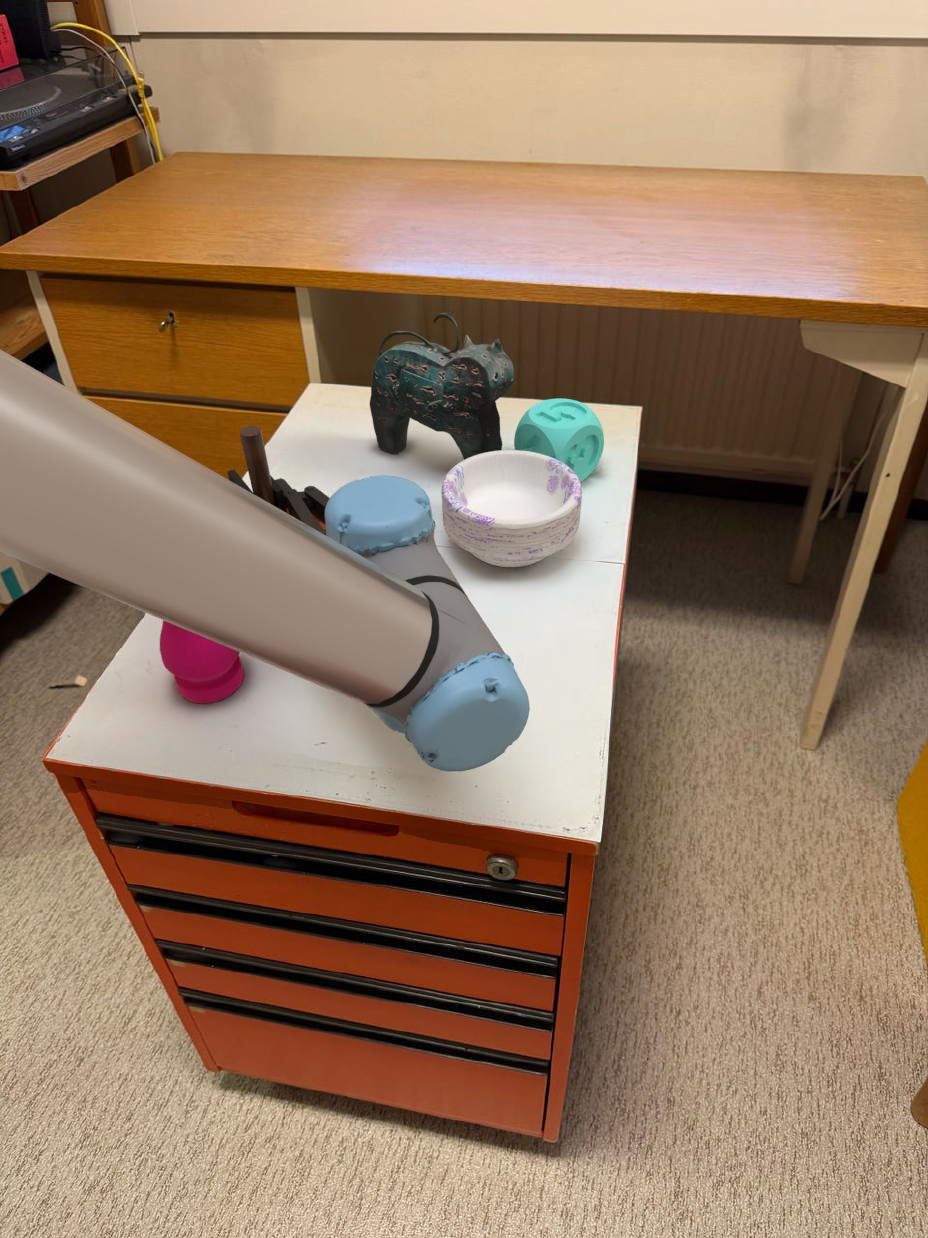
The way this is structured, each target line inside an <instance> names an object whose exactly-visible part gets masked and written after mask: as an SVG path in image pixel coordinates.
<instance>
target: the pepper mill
mask: <svg viewBox="0 0 928 1238" xmlns="http://www.w3.org/2000/svg"><path fill="white" fill-rule="evenodd" d="M240 653H241V652H239V651H236V650H234V649H231V648H229V647H227V646H224V645H222V644H219V643H217V642H215V641H212V640H210V639H207V638H205V637H203V636H200V635H198V634H195V633H193V632H191V631H188V630H186V629H183V628H181V627H179V626H176V625H174V624H171V623H169V622H167V621H164V620H162V624H161V630H160V634H159V654H160V658H161V661H162V664H163V666H164V667H165V669H166V670H167V671H168V672H169V673H170V674H171V675H173V677H174V681H175V684H176V687H177V689H178V692H179V693H180V695H181V696H182V697H183V698H184V699H186V700H187V701H190V702H193V703H198V704H209V703H210V704H211V703H215V702H218V701H221V700H223V699H226V698H228V697H229V696H231V695H232V694H234V693H235V692H236V691H237V690H238V689H239V688H240V686H241V685H242V683H243V680H244V677H245V672H244V667H243V665H242V661H241V657H240Z"/></svg>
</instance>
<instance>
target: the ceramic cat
mask: <svg viewBox="0 0 928 1238" xmlns="http://www.w3.org/2000/svg"><path fill="white" fill-rule="evenodd" d="M440 318H445V319H447V320H449V321H450V322H451V323H452V324H453V326H454V327H455V330H456V344H455V349H452V350H450V349H448V348H447V347H445V346H444V345H441V344H439V343H435V342H430V341H429V340H427V339H426V338H425V337H424V336H422V335H420V334H418V333H416V332H414V331H407V330H396V331H392V332H390V333H389V334H387V335H386V336H385V337H384V338H383V340H382V342H381V344H380V347H379V352H378V356H379V357H378V358H377V359H376V362H375V363H374V365H373V368H372V373H371V379H370V398H369V409H370V415H371V418H372V425H373V430H374V434H375V437H376V443H377V446H378V448H379V449H380V450H382V451H383V452H386V453H389V454H391V455H398V454H399V453H400V452H402V451H404V450H405V449H406V448H407V441H408V430H409V425H410V421H411V420H413V421H415V422H417V423H419V424H421V425H422V426H425V427H427V428H429V429H430V430H433V431H434V432H439V433H440V432H444V433H447V434H448V435H450V437H451V438H452V440H453V441H454V443H455V445H456V446H457V448H458V449H459V451H460V454H461V455H462V461H463V460H465V459H467V458H470V457H472V456H475V455H478V454H482V453H486V452H491V451H500V450H503V439H502V436H501V417H500V412H499V410H498V407H497V402H496V401H498V400H499V399H500V398H501V397H502V396H504V395H505V394H507V393H508V392H509V391H510V390H511V389H512V387H513V384H514V381H515V369H514V368H515V367H514V364H513V362H512V360H511V358H510V357H509V356H508V354H506V352H505V351H504V349H503V345H502V344H503V343H502V341H501V340H500V338H497V339H495V340H494V341H493V342H492V343H491V344H488V343H480V344H474V343H473V341H472V340H471V337H470V336H469V335H468V334H466V335H465V337H464V339H463V343H462V344H463V345H462V347H461V349H460V332H459V331H460V330H459V326H458V324H457V323H458V322H457V321H456V320H455V319H454V317H453V316H452V315H450V314H449V313H448V312H442V313H439V314H438V315H436V316H435V317H434V319H433V323H434V324H436V322H437V321H438V320H439V319H440ZM395 336H413V337H415V338H417V339H419V340H421V341H420V342H418V341H412V340H408V341H407V340H406V341H404V342H400V343H398V344H395V345H393V346H392V347H391V348H389V349H388V350H386V351H384V352H383V349H384V346H385V345H386V343H387V342H388V341H389V340H390V339H392V338H393V337H395Z"/></svg>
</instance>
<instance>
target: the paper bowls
mask: <svg viewBox="0 0 928 1238" xmlns="http://www.w3.org/2000/svg"><path fill="white" fill-rule="evenodd" d="M581 482H582V481H581ZM581 482H580V480H579V479H578V477H577V475H576V474H575V472H574V471H573V470H572V469H570V468H569V467H568V466H567V465H565V464H564V463H562V462H560V461H558V460H556V459H554V458H552V457H549V456H546V455H543V454H539V453H535V452H529V451H520V450H515V449H502V450H500V451H491V452H486V453H482V454H478V455H475V456H472V457H470V458H467V459H465V460H463V459H462V460H461V461H460V462H458V463H456V464H455V465H454V466H453V467H451V468H450V469H449V470H448V472H447V473H446V475H445V476H444V478H443V481H442V485H441V511H442V523H443V528H444V530H445V533H446V535H447V536H448V538H449V539H450V540H451V541H452V542H453V543H454V544H456V545H457V546H458V547H459V548H460V549H462V550H464V551H466V552H468V553H471V554H472V555H473V556H474V557H475V558H477V559H478V560H480V561H482V562H484V563H487V564H489V565H492V566H497V567H502V568H521V567H526V566H531V565H534V564H536V563H539V562H541V561H543V560H544V559H546V558H547V557H549V556H551V555H554V554H556V553H559V552H560V551H562V550H563V549H565V548H566V547H567V546H569V545H570V544H571V543H572V541H573V539H575V536H576V535H577V534H578V530H579V527H580V526H579V525H580V522H581V521H580V520H581V512H582V511H581V509H582V499H583V486H582V483H581Z"/></svg>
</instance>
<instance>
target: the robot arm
mask: <svg viewBox="0 0 928 1238" xmlns="http://www.w3.org/2000/svg"><path fill="white" fill-rule="evenodd" d="M226 473H227V477H228V478H226V477H224V476H223V475H221V474H219V473H217V472H216V471H214V470H212V469H211V468H209V467H206V466H205V465H203V464H202V463H200V462H198V461H196V460H195V459H193V458H192V457H190V456H188V455H186V454H184V453H182V452H180V451H179V450H177V449H175V448H174V447H171V446H170V445H169V444H167V443H165V442H163V441H161V440H160V439H158V438H156V437H154V436H153V435H151V434H149V433H148V432H145V431H144V430H142V429H140V428H139V427H137V426H136V425H133V424H132V423H130V422H129V421H126V420H124V419H123V418H121V417H120V416H118V415H116V414H114V413H113V412H110V411H109V410H107V409H105V408H104V407H102V406H100V405H99V404H96V403H95V402H93V401H92V400H89V399H88V398H86V397H85V396H83V395H81V394H79V393H78V392H76V391H74V390H73V389H70V388H69V387H67V386H65V385H64V384H62V383H60V382H58V381H56V380H55V379H53V378H51V377H50V376H48V375H47V374H44V373H42V372H41V371H40V370H37V369H35V368H34V367H32V366H30V365H29V364H27V363H25V362H23V361H21V360H20V359H18V358H17V357H15V356H13V355H11V354H10V353H8V352H6V351H4V350H2V349H0V553H1V554H4V555H6V556H8V557H10V558H13V559H16V560H19V561H21V562H23V563H25V564H28V565H30V566H32V567H35V568H38V569H39V570H42V571H45V572H46V573H49V574H52V575H54V576H56V577H59V578H61V579H64V580H66V581H68V582H70V583H73V584H75V585H77V586H80V587H83V588H85V589H87V590H90V591H92V592H95V593H97V594H99V595H102V596H104V597H106V598H108V599H112V600H113V601H116V602H119V603H121V604H123V605H126V606H128V607H131V608H133V609H136V610H138V611H141V612H143V613H145V614H148V615H150V616H152V617H155V618H157V619H160V620H162V621H163V620H164V621H167V622H169V623H171V624H174V625H176V626H179V627H181V628H183V629H186V630H188V631H191V632H193V633H195V634H198V635H200V636H203V637H205V638H207V639H210V640H212V641H215V642H217V643H219V644H222V645H224V646H227V647H229V648H231V649H234V650H236V651H239V652H240V653H241V654H244V655H245V656H248V657H251V658H253V659H255V660H258V661H260V662H263V663H265V664H267V665H270V666H272V667H275V668H277V669H279V670H281V671H282V670H283V671H284V672H286V673H289V674H292V675H294V676H297V677H298V678H301V679H303V680H306V681H308V682H310V683H313V684H315V685H318V686H320V687H323V688H325V689H327V690H329V691H332V692H334V693H337V694H340V695H341V696H344V697H347V698H349V699H352V700H353V701H355V702H359V703H361V704H364V705H366V707H368V708H369V709H370V710H371V711H372V712H373V713H374V714H375V715H376V716H377V717H378V718H379V719H380V721H382V722H383V723H384V725H385V726H387V728H389V729H390V730H392V731H393V732H397V733H399V734H403V735H404V738H405V739H406V741H408V743H410V744H411V745H412V747H413V748H414V750H415V752H416V753H417V755H418V756H419V758H421V760H422V761H423V762H424V763H425V764H426V765H428V766H430V767H431V768H433V769H436V770H438V771H443V772H450V773H451V772H466V771H470V770H475V769H477V768H480V767H482V766H485V765H487V764H489V763H491V762H493V761H495V760H496V759H497V758H499V757H500V756H502V755H503V754H504V753H505V752H506V750H507V749H508V748H509V747H510V746H512V745H513V743H514V742H516V741H518V739H519V738H520V736H521V735H522V734H523V732H524V730H525V728H526V725H527V724H528V720H529V716H530V698H529V695H528V692H527V690H526V688H525V686H524V684H523V682H522V680H521V679H520V677H519V675H518V673H517V671H516V669H515V664H514V662H513V661H512V657H510V655H509V654H507V653H505V651H504V650H503V648H502V646H501V645H500V643H499V642H498V640H497V639H496V637H495V636H494V634H493V633H492V631H491V630H490V628H489V627H488V625H487V624H486V622H485V621H484V619H483V618H482V616H481V614H480V613H479V612H478V611H477V608H476V607H475V606H474V604H473V603H472V602H471V600H470V598H469V597H468V595H467V593H466V592H465V590H464V589H463V586H462V585H461V584H460V582H459V581H458V580H457V578H456V576H455V575H454V573H453V571H452V570H451V568H450V567H449V565H448V563H447V562H446V560H445V559H444V558H443V556H442V554H441V553H440V551H439V550H438V547H437V545H436V541H435V529H436V521H435V519H434V518H433V511H432V506H431V500H430V497H429V495H428V494H427V491H426V490H424V488H423V487H421V486H420V485H419V484H417V483H416V482H414V481H411V480H410V479H407V478H404V477H400V476H396V475H372V476H369V477H364V478H360V479H355V480H352V481H349V482H348V483H346V484H344V485H343V486H341V487H339V489H337V490H335V492H334V493H332V495H331V496H330V497H329V496H328V495H326V494H325V493H324V492H322V491H321V490H320V489H319V488H317V487H316V486H314V485H308V486H305V487H304V488H303V491H302V490H301V491H298V490H297V488H296V489H295V488H292V486H290V485H291V484H289V483H288V482H287V481H286V480H285V479H284V478H281V477H280V478H277V479H274V478H273V476H272V475H271V474H270V476H271V481H272V486H273V491H274V496H275V500H276V505H277V507H275V506H273V505H271V504H270V503H268V502H266V501H264V500H263V499H261V498H259V497H257V496H256V495H255V494H253V490H252V488H250V487H249V486H248V485H247V483H246V482H245V481H244V479H243V478H242V477H241V475H239V473H238V472H237V471H236V470H235V469H234V468H233V469H230V470H227V472H226ZM286 507H287V508H286ZM287 509H288V511H289V514H287V513H286V512H287ZM312 515H313V516H315V517H316V518H317V519H319V520H320V521H321V522H322V523H324V524H325V525H326V531H324V530H323V528H322V527H321V525H320V523H319V522H318V520H315V519H314V517H313V516H312Z"/></svg>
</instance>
